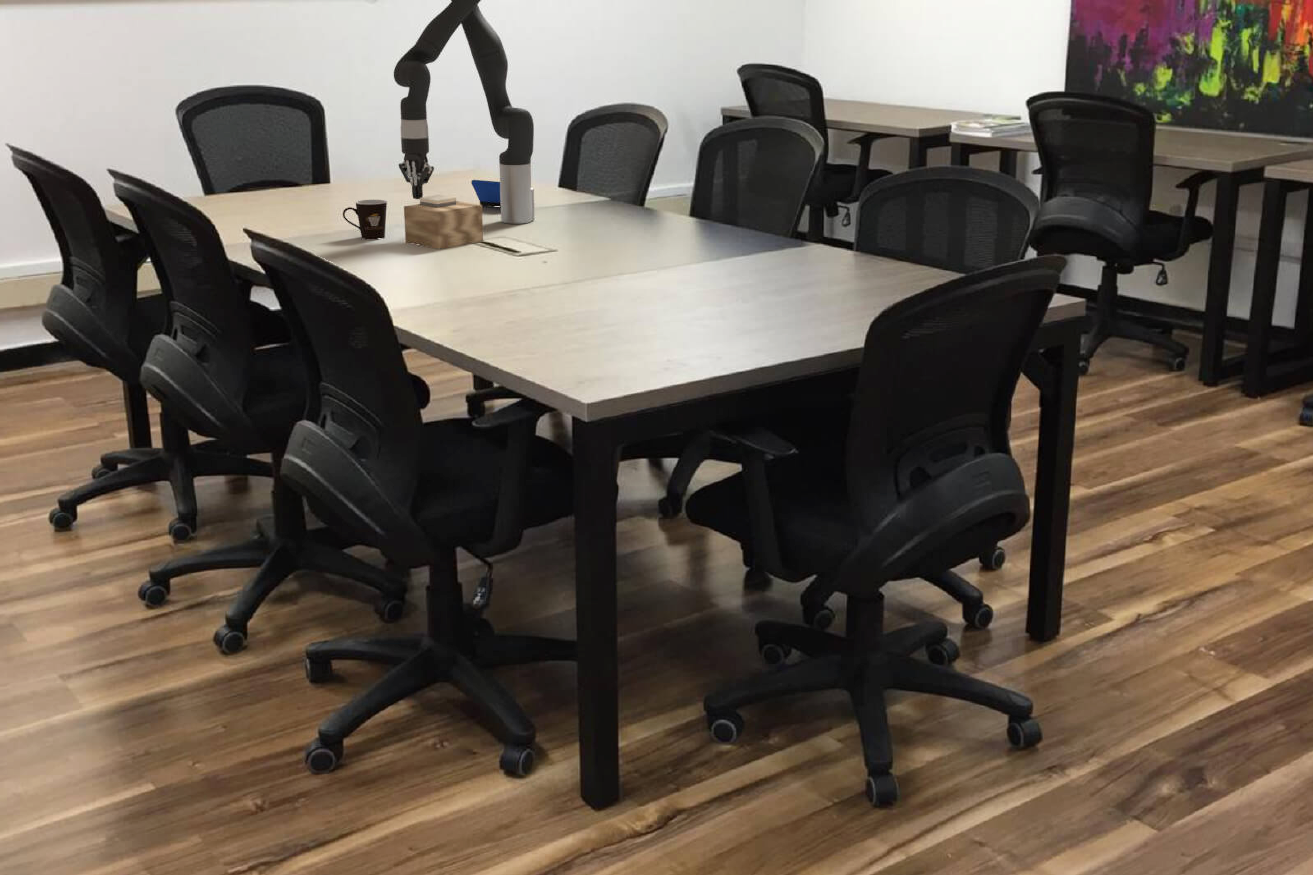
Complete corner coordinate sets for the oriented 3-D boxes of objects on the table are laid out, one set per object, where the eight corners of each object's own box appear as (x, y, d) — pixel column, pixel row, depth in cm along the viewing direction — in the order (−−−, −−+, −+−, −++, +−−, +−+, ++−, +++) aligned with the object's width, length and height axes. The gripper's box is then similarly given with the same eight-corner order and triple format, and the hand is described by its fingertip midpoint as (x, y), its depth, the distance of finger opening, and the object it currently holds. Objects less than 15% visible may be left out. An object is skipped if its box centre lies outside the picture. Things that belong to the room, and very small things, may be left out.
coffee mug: (392, 235, 421) (390, 199, 418) (384, 240, 413) (382, 204, 410) (352, 234, 422) (350, 199, 419) (343, 239, 414) (340, 203, 411)
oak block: (449, 234, 421) (448, 199, 418) (483, 240, 413) (481, 204, 409) (405, 242, 410) (403, 206, 407) (439, 248, 401) (437, 212, 398)
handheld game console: (536, 207, 470) (535, 177, 467) (510, 213, 459) (509, 182, 456) (496, 202, 478) (496, 173, 475) (470, 208, 467) (469, 178, 464)
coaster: (439, 202, 414) (439, 194, 413) (456, 204, 410) (456, 197, 409) (420, 205, 409) (419, 197, 408) (436, 207, 405) (436, 200, 404)
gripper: (440, 136, 408) (443, 199, 413) (409, 132, 416) (412, 194, 421) (419, 138, 402) (422, 202, 408) (388, 135, 411) (391, 197, 416)
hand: (417, 198), depth 415 cm, fingers closed
